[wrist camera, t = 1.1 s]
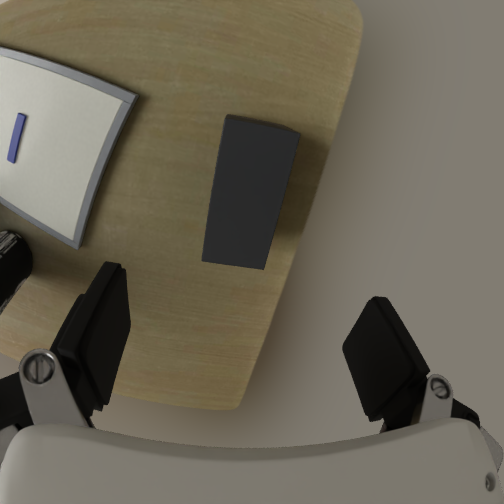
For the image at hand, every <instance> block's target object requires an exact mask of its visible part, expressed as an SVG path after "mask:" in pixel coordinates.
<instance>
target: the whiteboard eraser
mask: <svg viewBox="0 0 504 504" xmlns="http://www.w3.org/2000/svg"><path fill="white" fill-rule="evenodd" d="M299 138H300V133H298V132H296V131H294V130H292V129H290V128H288V127H286V126H284V125H280V124H276V123H271V122H267V121H262V120H257V119H252V118H247V117H241V116H236V115H230V114H227V115H226V117H225V120H224V125H223V131H222V136H221V141H220V146H219V152H218V157H217V163H216V168H215V174H214V180H213V186H212V192H211V198H210V204H209V211H208V217H207V224H206V231H205V238H204V245H203V253H202V260H201V261H204V262H211V263H218V264H225V265H232V266H239V267H247V268H254V269H262V270H264V268H265V264H266V260H267V257H268V253H269V250H270V246H271V243H272V239H273V235H274V232H275V228H276V224H277V221H278V217H279V213H280V210H281V206H282V202H283V199H284V195H285V191H286V187H287V184H288V180H289V176H290V172H291V169H292V165H293V161H294V157H295V153H296V150H297V146H298V142H299Z"/></svg>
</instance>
